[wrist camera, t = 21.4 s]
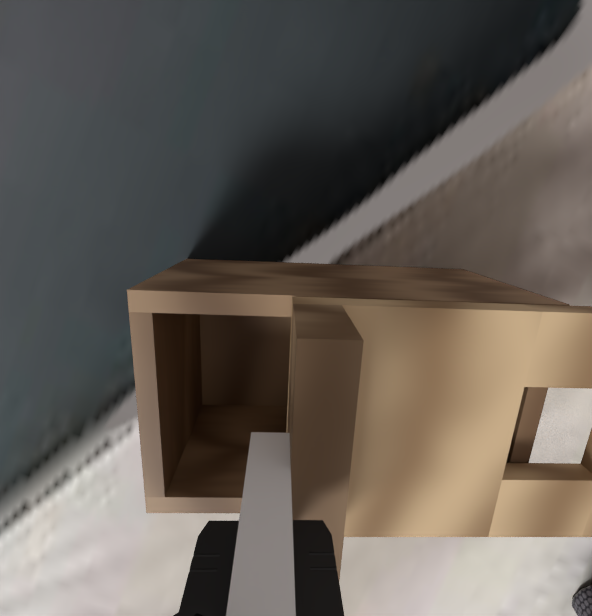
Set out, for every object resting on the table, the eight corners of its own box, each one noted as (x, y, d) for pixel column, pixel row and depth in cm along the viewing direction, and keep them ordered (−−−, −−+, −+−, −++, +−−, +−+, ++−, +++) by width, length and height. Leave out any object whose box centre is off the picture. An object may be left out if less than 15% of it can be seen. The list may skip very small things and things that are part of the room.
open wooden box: (193, 408, 28) (146, 512, 18) (187, 258, 25) (127, 290, 15) (437, 413, 29) (514, 514, 19) (462, 269, 26) (569, 304, 16)
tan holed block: (282, 516, 19) (283, 629, 14) (292, 296, 15) (297, 338, 10) (641, 517, 20) (764, 622, 15) (721, 311, 16) (913, 355, 11)
